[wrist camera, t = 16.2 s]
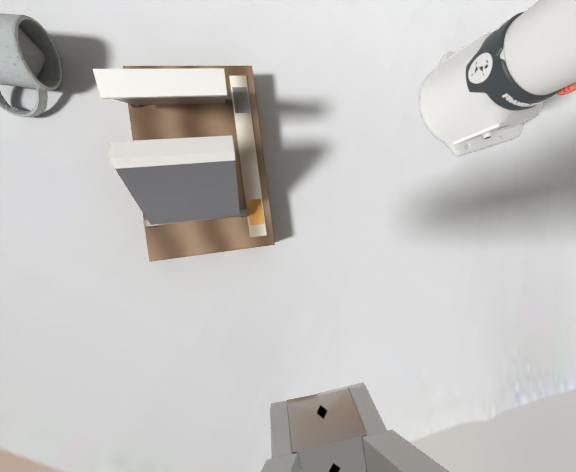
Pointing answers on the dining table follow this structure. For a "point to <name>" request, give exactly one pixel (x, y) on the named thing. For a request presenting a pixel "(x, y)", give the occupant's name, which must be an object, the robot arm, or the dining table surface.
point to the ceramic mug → (27, 60)
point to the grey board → (179, 177)
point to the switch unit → (248, 158)
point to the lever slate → (162, 85)
